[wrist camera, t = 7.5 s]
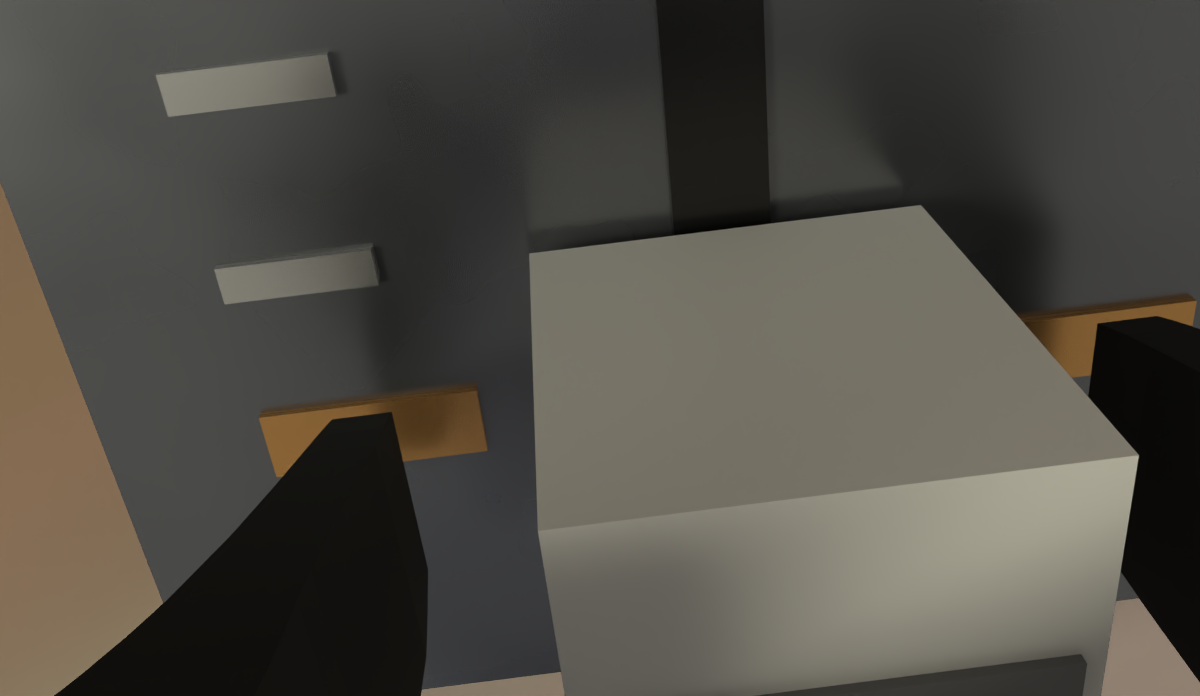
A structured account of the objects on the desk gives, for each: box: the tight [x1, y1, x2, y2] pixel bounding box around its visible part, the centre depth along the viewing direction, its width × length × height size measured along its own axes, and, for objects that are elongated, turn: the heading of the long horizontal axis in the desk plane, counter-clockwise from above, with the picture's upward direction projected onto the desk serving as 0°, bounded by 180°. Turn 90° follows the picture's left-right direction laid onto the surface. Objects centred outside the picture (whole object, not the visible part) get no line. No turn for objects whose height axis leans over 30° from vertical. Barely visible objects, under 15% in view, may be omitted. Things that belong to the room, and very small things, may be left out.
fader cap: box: [529, 205, 1139, 696], centre depth 10 cm, size 4×4×5 cm
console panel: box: [0, 0, 1200, 689], centre depth 11 cm, size 16×14×2 cm
